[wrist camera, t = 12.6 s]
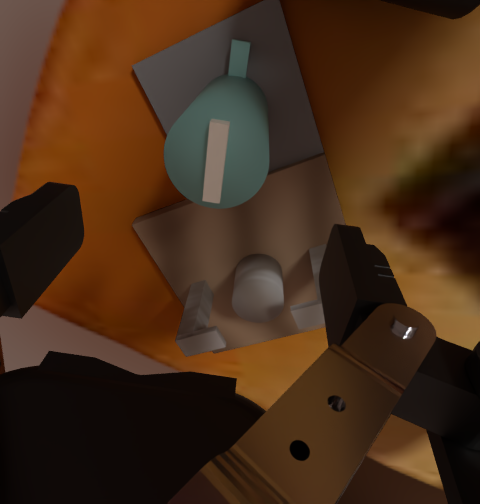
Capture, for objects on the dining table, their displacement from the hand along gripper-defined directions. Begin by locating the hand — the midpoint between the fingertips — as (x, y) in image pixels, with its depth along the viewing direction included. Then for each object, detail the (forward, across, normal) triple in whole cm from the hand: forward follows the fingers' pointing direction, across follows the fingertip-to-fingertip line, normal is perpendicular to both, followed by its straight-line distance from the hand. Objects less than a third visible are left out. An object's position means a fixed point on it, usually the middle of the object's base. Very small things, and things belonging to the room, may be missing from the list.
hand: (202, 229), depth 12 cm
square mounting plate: (+17, -3, +13) cm, 21 cm away
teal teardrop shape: (+16, +1, 0) cm, 16 cm away
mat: (+17, +1, 0) cm, 17 cm away
